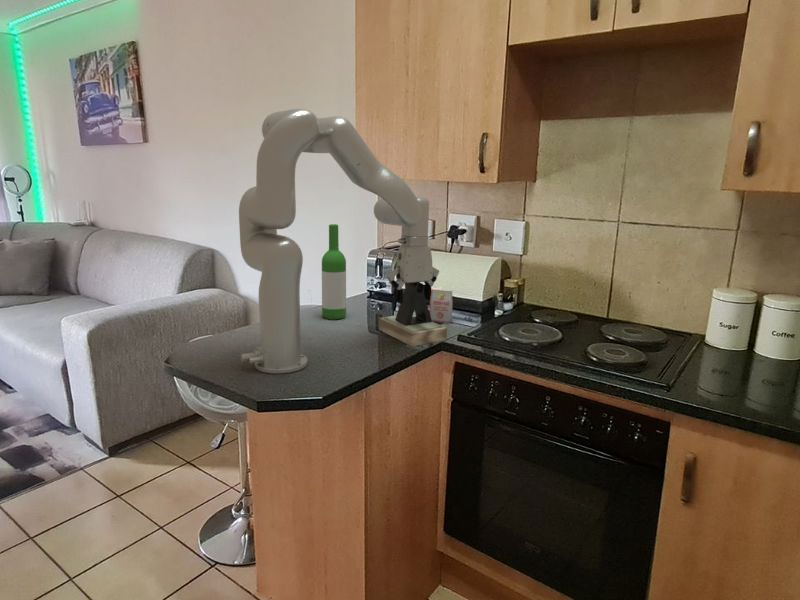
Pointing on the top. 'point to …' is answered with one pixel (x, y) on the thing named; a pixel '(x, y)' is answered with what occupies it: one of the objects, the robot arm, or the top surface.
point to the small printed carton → (441, 305)
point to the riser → (413, 331)
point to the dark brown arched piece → (413, 306)
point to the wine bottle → (333, 278)
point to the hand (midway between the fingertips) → (412, 300)
